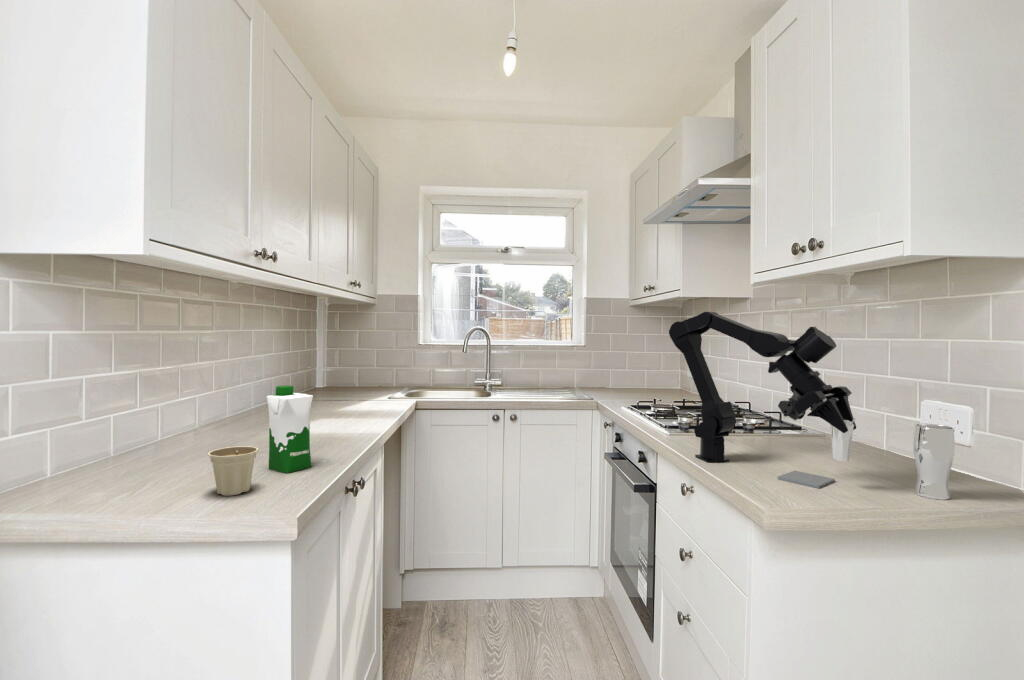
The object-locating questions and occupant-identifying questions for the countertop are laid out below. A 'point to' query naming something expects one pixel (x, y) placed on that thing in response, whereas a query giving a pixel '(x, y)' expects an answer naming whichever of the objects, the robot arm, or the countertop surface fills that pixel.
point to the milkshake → (841, 442)
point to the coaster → (806, 479)
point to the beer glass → (933, 459)
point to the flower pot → (233, 469)
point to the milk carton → (289, 430)
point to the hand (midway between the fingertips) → (850, 430)
